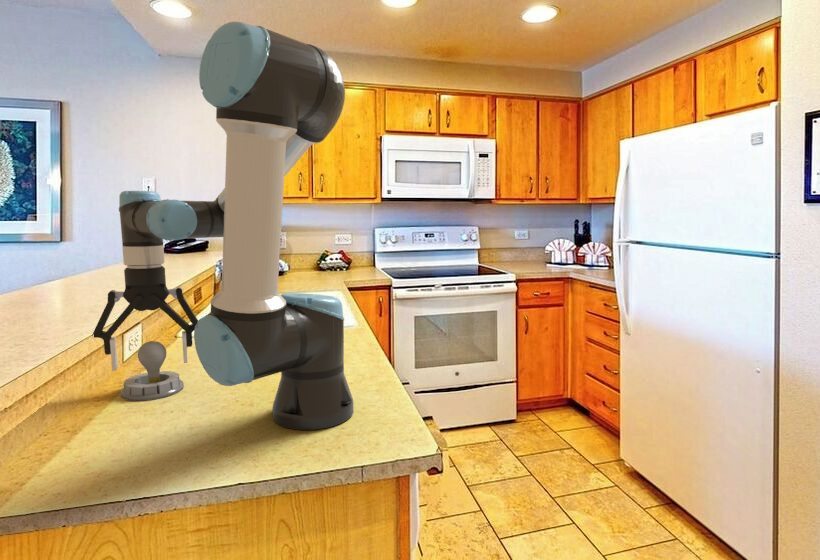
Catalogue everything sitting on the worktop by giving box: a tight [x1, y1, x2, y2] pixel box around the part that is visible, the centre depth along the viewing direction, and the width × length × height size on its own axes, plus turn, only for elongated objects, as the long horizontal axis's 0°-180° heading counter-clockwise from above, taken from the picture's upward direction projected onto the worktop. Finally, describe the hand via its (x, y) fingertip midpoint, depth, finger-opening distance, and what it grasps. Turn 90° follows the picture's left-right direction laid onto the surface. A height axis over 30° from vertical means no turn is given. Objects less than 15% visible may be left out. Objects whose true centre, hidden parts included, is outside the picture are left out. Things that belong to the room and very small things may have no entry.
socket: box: [120, 370, 184, 402], centre depth 106 cm, size 12×12×3 cm
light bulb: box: [137, 340, 167, 384], centre depth 106 cm, size 6×6×10 cm
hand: (151, 365), depth 106 cm, fingers open, 13 cm apart
